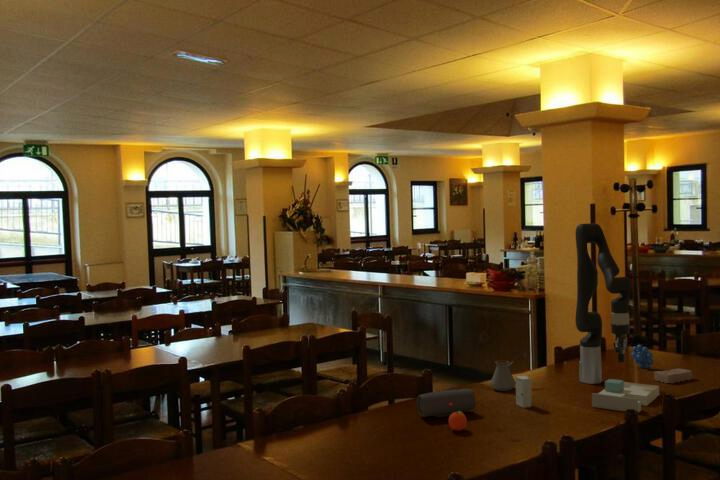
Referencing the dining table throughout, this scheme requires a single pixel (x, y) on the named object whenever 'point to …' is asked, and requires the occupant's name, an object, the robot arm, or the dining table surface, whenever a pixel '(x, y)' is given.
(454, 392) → the bluetooth speaker
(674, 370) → the brick
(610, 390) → the block
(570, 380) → the dining table surface
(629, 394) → the tray
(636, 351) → the grapes
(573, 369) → the dining table surface
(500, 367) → the coffee pot
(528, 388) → the skincare box
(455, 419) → the clementine
